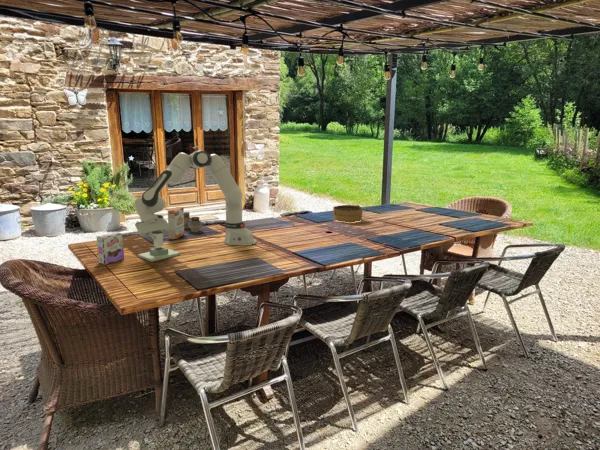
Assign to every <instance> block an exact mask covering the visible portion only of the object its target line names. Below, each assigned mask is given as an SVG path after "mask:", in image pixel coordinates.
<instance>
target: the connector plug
mask: <svg viewBox="0 0 600 450" xmlns="http://www.w3.org/2000/svg"><path fill="white" fill-rule="evenodd" d="M152 235H153V236H155V237H156V239H155V240H153V247H155V248H156V247H164V238H163V236H164V232H162V231H154V232H153V234H152Z"/></svg>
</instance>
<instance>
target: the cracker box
mask: <svg viewBox="0 0 600 450" xmlns="http://www.w3.org/2000/svg"><path fill="white" fill-rule="evenodd" d="M167 223H168V224H169V226H170V228H169V230H168V231H167V232H168V239H169V240H174V239H176V240H178V239H180V238H182V237H184V236H185V228H184V207H181V206H180V207H179V206H175V207H173V208H171V209H168V210H167ZM183 235H184V236H183ZM181 236H182V237H181ZM179 237H180V238H179Z"/></svg>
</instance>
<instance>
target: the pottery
mask: <svg viewBox="0 0 600 450" xmlns="http://www.w3.org/2000/svg"><path fill="white" fill-rule="evenodd" d="M203 225H204V223H203V221H201V220H200V217H199V216H190V212H189V211H188V212H187V211H185V212H184V229H190V230H191V232H192V233H198V232H200V230H201V229H202V227H203Z"/></svg>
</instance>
